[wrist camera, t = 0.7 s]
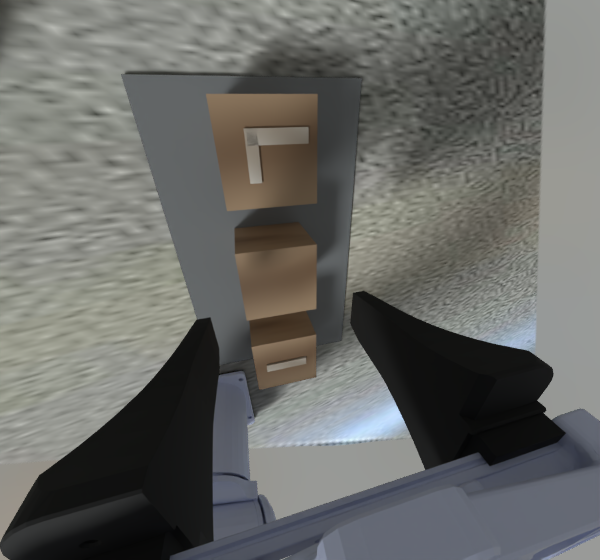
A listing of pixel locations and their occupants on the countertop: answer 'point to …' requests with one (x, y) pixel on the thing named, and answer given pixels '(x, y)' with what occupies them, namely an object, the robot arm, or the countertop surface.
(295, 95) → the digit block 7
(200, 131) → the mat
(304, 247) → the plain block
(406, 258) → the countertop surface
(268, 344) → the digit block 1
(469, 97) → the countertop surface
